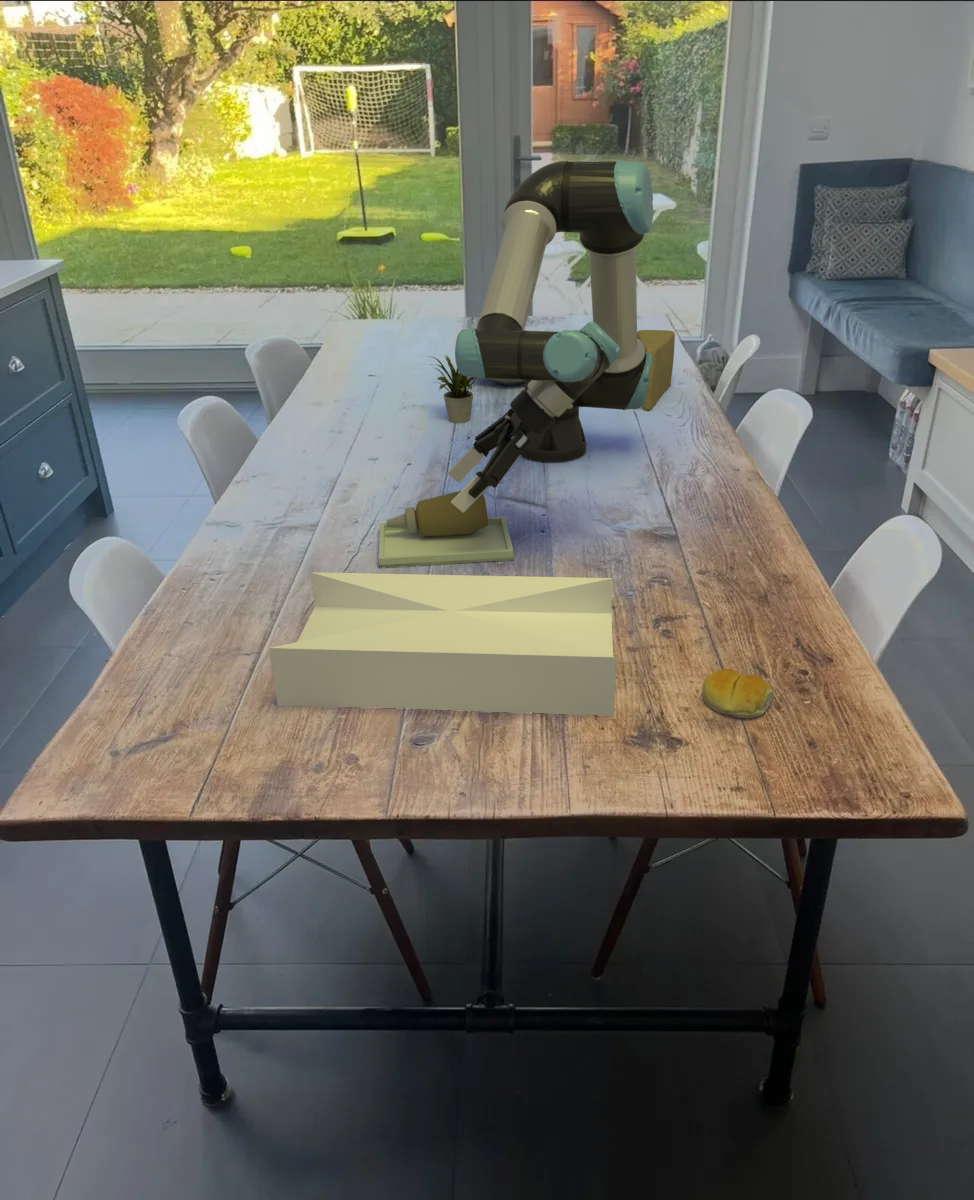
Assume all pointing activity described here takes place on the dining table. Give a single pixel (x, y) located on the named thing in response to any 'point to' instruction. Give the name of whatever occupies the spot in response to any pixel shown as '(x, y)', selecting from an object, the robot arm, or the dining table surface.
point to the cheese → (658, 362)
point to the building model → (453, 644)
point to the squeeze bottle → (442, 517)
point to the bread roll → (737, 693)
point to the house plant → (457, 394)
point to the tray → (445, 546)
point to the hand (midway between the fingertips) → (454, 492)
